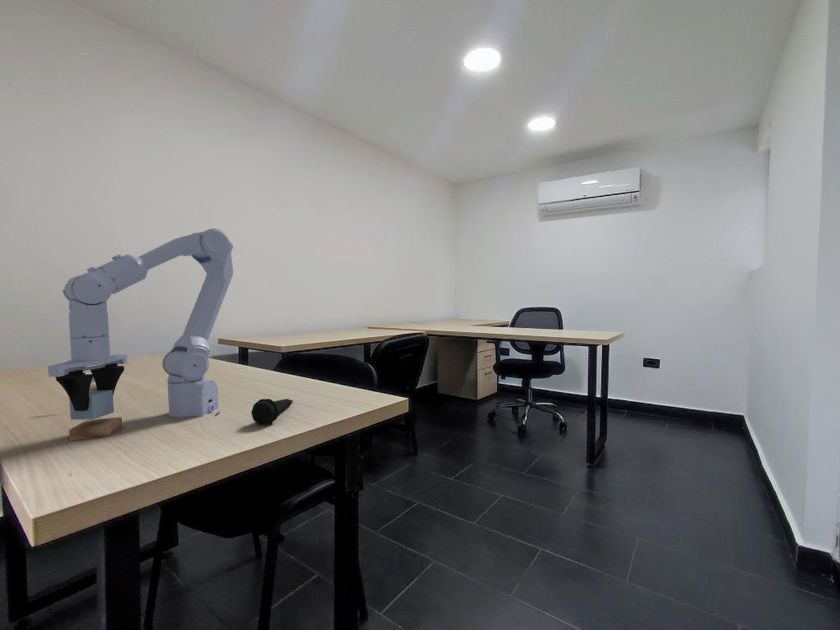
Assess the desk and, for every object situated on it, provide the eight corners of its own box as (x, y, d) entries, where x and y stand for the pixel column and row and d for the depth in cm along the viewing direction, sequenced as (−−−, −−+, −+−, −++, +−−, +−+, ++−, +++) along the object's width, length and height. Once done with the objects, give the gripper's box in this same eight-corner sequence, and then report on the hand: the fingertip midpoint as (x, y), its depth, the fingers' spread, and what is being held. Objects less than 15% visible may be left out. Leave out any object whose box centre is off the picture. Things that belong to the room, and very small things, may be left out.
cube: (113, 412, 76) (112, 390, 76) (92, 419, 72) (91, 395, 72) (93, 412, 77) (91, 390, 76) (70, 419, 72) (69, 396, 72)
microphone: (285, 415, 100) (251, 431, 80) (278, 394, 100) (243, 405, 80) (305, 408, 100) (276, 422, 80) (298, 387, 100) (268, 396, 80)
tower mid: (122, 426, 78) (121, 416, 78) (109, 436, 73) (108, 425, 72) (86, 430, 76) (85, 420, 76) (69, 440, 71) (69, 429, 71)
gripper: (103, 333, 81) (107, 397, 82) (30, 341, 67) (34, 418, 67) (135, 333, 81) (138, 397, 81) (68, 340, 66) (72, 418, 67)
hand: (93, 406), depth 74 cm, fingers closed on cube, 4 cm apart
